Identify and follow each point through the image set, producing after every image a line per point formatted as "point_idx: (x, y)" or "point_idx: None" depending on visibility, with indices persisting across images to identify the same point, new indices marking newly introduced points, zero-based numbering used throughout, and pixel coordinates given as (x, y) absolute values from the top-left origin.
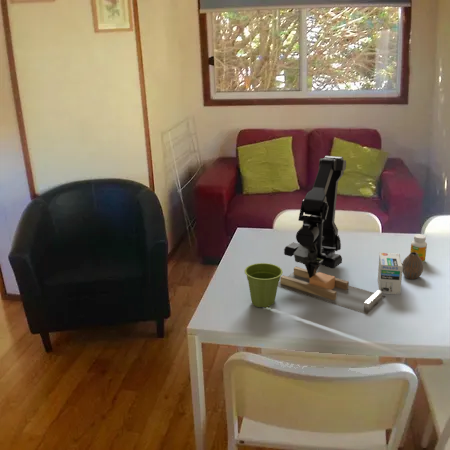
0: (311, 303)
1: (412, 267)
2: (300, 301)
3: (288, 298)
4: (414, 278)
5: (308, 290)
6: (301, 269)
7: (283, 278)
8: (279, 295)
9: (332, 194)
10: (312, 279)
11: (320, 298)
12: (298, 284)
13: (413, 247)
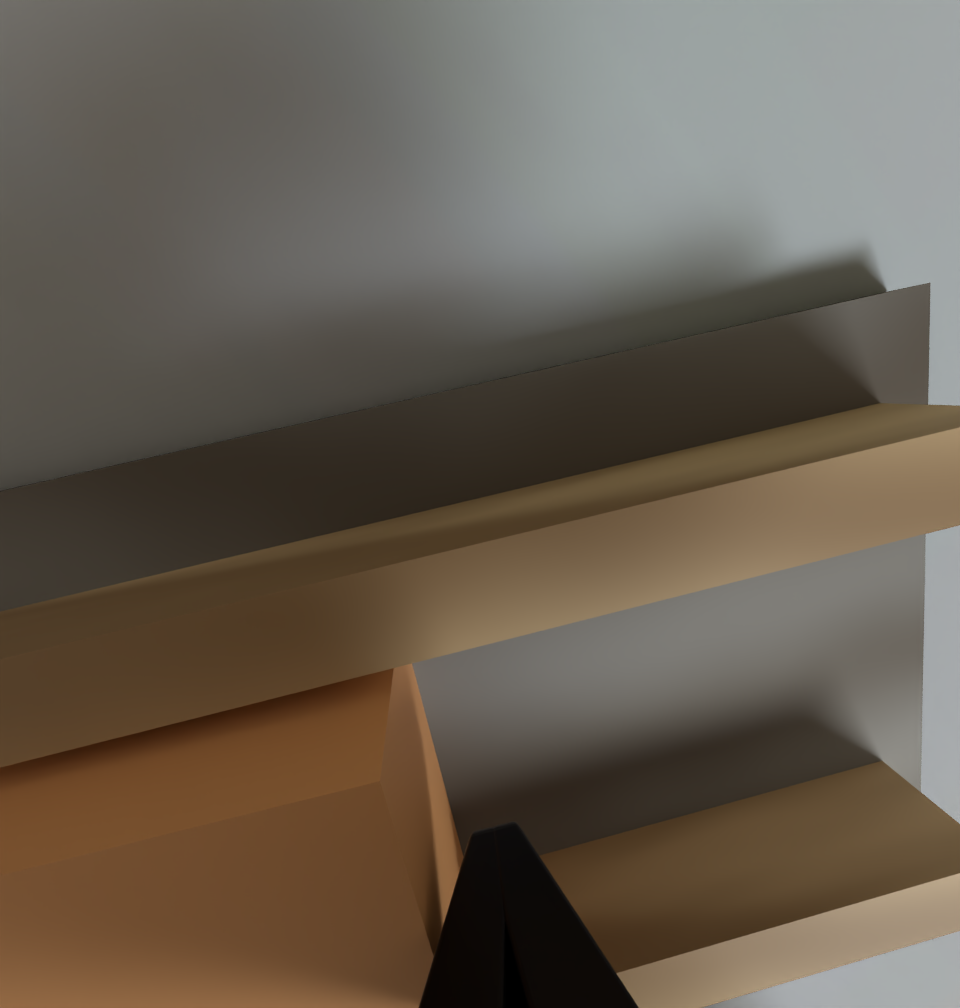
0: (48, 325)
1: None
2: (231, 227)
3: (460, 145)
4: None
5: (320, 544)
6: (865, 920)
7: (943, 426)
8: (651, 108)
9: None
10: (285, 799)
11: (2, 528)
12: (554, 509)
13: None
